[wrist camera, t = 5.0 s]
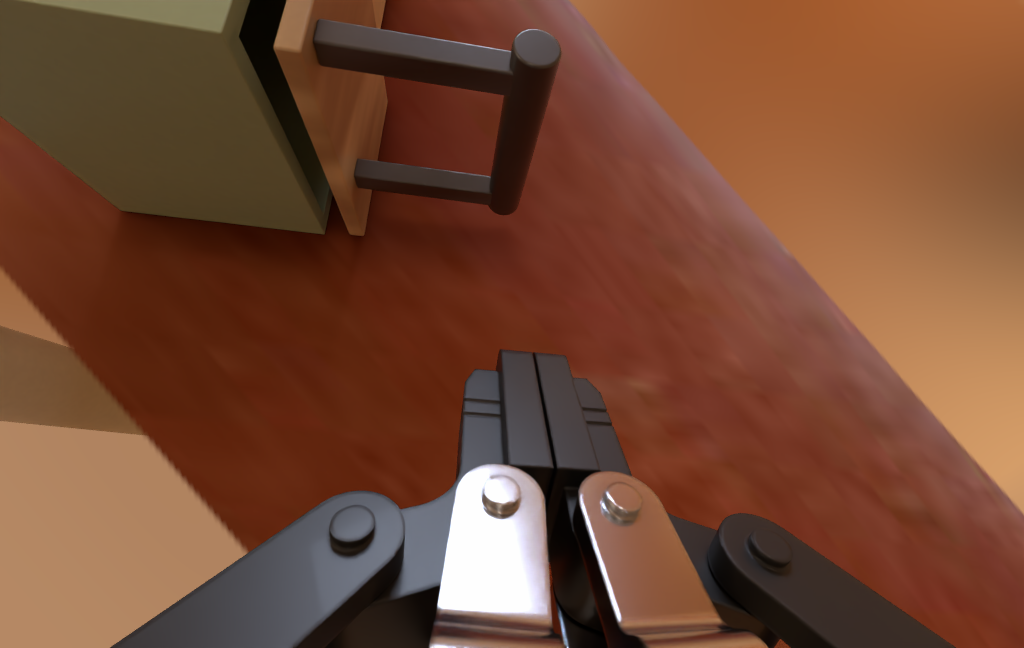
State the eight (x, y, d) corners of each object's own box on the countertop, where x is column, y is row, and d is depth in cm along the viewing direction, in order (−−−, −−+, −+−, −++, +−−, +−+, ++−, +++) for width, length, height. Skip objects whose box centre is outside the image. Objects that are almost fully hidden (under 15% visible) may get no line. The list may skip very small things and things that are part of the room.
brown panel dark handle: (348, 235, 24) (269, 40, 13) (374, 99, 27) (325, -157, 16) (509, 254, 25) (560, 88, 14) (518, 121, 28) (567, -105, 17)
